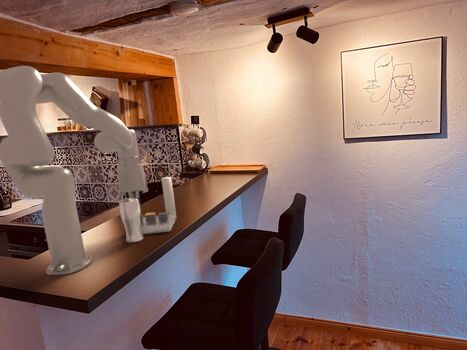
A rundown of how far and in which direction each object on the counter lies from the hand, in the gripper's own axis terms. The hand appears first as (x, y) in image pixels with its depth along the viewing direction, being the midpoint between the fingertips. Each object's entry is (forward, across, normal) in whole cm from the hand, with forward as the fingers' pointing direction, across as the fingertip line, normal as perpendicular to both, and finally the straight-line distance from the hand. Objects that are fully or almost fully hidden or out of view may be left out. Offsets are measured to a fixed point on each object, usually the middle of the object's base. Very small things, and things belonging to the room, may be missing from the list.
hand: (136, 207), depth 134 cm
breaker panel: (+9, +5, 0) cm, 10 cm away
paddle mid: (+6, +5, 0) cm, 8 cm away
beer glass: (+9, +1, -11) cm, 14 cm away
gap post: (+9, +11, +10) cm, 17 cm away
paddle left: (+6, 0, 0) cm, 6 cm away
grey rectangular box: (+6, +10, 0) cm, 12 cm away
